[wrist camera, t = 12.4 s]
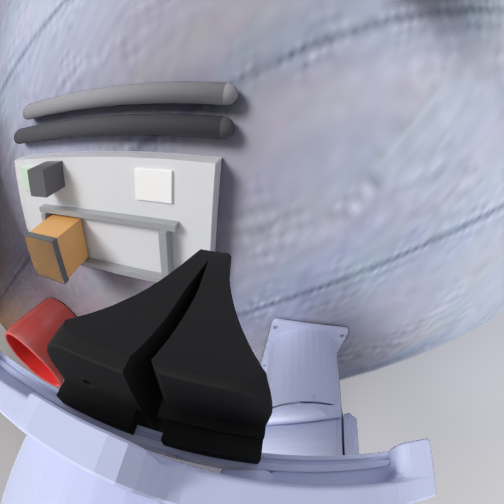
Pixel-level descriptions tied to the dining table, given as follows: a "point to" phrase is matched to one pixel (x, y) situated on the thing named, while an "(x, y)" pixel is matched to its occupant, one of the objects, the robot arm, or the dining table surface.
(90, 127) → the cord
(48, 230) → the lever
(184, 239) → the white base panel
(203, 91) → the cord
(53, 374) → the flower pot
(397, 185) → the dining table surface
